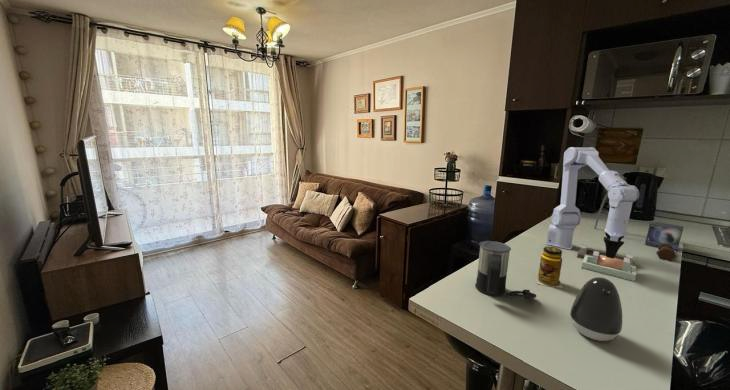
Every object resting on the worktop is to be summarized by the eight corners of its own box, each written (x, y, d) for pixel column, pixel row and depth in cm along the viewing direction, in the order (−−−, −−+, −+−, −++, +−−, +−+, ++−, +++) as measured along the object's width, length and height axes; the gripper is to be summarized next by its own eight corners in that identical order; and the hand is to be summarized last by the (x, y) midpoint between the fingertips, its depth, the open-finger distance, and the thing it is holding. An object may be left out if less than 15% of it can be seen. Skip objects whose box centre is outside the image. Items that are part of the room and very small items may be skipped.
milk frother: (471, 281, 100) (475, 239, 97) (518, 282, 100) (524, 241, 97) (486, 305, 87) (491, 257, 83) (541, 307, 86) (548, 259, 83)
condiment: (537, 284, 99) (542, 250, 96) (533, 273, 107) (538, 242, 104) (563, 289, 96) (569, 254, 94) (557, 277, 104) (562, 245, 101)
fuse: (590, 267, 111) (592, 254, 110) (591, 262, 115) (594, 250, 114) (627, 276, 105) (629, 263, 104) (627, 271, 108) (629, 258, 107)
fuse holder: (577, 257, 121) (578, 249, 120) (580, 249, 129) (581, 242, 128) (632, 270, 110) (634, 261, 109) (632, 261, 118) (634, 252, 117)
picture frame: (644, 245, 136) (649, 223, 134) (646, 241, 140) (651, 220, 138) (677, 252, 128) (682, 229, 126) (678, 248, 132) (683, 226, 130)
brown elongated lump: (665, 254, 130) (666, 264, 119) (653, 246, 132) (653, 255, 122) (678, 245, 127) (680, 254, 116) (665, 237, 129) (666, 245, 119)
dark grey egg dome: (574, 341, 72) (585, 284, 68) (563, 317, 81) (572, 266, 78) (626, 353, 68) (640, 293, 65) (608, 326, 78) (620, 273, 74)
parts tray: (581, 268, 111) (582, 262, 111) (584, 260, 118) (585, 255, 117) (634, 281, 102) (636, 275, 101) (634, 272, 108) (635, 266, 108)
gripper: (633, 226, 98) (624, 264, 101) (632, 216, 108) (625, 251, 111) (605, 221, 102) (598, 258, 105) (608, 213, 113) (601, 246, 116)
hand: (610, 254), depth 109 cm, fingers open, 7 cm apart
